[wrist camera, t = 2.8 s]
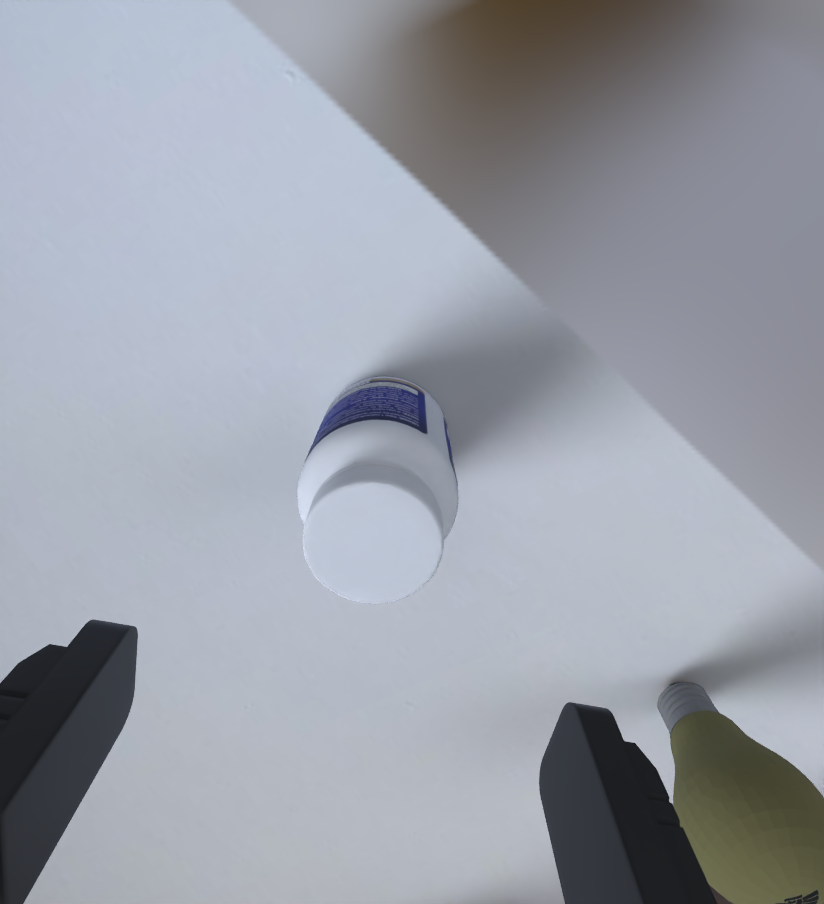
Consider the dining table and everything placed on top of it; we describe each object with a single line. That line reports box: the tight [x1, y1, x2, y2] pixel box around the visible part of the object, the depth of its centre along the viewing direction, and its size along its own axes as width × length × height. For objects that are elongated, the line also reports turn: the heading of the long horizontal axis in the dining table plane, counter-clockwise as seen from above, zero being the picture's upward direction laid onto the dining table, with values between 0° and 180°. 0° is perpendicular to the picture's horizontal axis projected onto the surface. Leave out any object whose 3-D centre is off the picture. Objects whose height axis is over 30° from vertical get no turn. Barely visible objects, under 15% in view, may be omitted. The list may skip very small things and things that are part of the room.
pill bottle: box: [297, 376, 458, 604], centre depth 20 cm, size 5×5×9 cm
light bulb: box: [657, 682, 824, 904], centre depth 25 cm, size 6×6×10 cm
